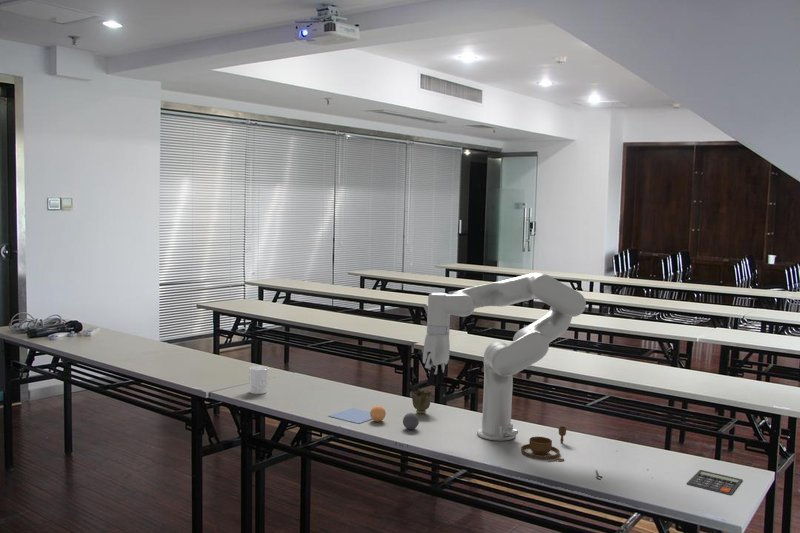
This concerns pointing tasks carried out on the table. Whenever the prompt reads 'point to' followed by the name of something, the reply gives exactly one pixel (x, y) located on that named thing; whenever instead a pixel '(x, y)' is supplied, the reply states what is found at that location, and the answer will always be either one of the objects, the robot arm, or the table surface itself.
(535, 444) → the place setting
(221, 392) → the table surface
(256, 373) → the white cup
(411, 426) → the gray ball
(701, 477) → the calculator
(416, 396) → the brown round vessel
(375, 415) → the orange ball
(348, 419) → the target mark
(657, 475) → the table surface
